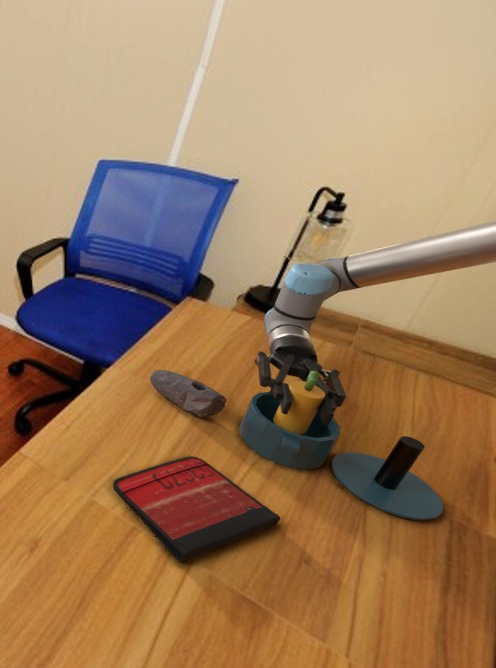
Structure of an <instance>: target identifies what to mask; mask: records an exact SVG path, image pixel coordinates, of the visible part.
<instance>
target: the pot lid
mask: <svg viewBox="0 0 496 668" xmlns="http://www.w3.org/2000/svg"><path fill="white" fill-rule="evenodd" d="M425 447H426V446H425V444H424V443H423V442H421V441H420V440H419V439H417V438H414V437H412V436H407V435H403V436H400V437H399V439H398V440H397V442H396V443H395V445H394V446H393V448H391V449H392V450H391V451H390V453H389V454H388V456H386V459H384V458H381V457H377V456H375V455H370V454H367V453H361V452H352V451H351V452H341V453H339V454H337V455H335V456H334V457H333V459H332V460H331V464H330V465H331V471H332V473H333V475H334V476H335V478H336V479H337V480H338V481H339V482H340V483H341V485H342V486H343V487H345V489H347V490H348V491H349V492H351V493H352V494H353V495H355V496H356V497H357V498H358V499H360V500H362V501H363V502H366V503H367V504H369V505H371V506H373V507H375V508H377V509H379V510H381V511H383V512H386V513H388V514H391V515H393V516H397V517H400V518H404V519H409V520H415V521H431V520H435V519H437V518H439V517H440V516H441V515H442V513H443V510H444V505H443V501H442V499H441V498H440V495H438V493H437V492H436V491H435V490H434V489H433V487H431V486H430V485H429V484H428V483H427V482H425V481H424V480H423V479H421V478H420V477H419V476H418V475H416V474H415V473H412V472H411V471H410V469H411V468H412V467H413V466H414V464H415V463H416V461H417V459H418V458H419V456H420V455H421V454H422V453H423V451H424V449H425Z"/></svg>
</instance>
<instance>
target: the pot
mask: <svg viewBox="0 0 496 668" xmlns="http://www.w3.org/2000/svg"><path fill="white" fill-rule="evenodd" d="M279 406H280V400H279V399H275V398H274V397H273V394H271V393H270V391H263V392H262V391H261V392H258V393H257V394H255V395H253V396H252V397H251V399H250V401H249V404H248V406H247V408H246V410H245V412H244V414H243V417H242V419H241V422H240V426H239V429H238V430H239V431H238V432H239V434H240V437H241V438H242V440H243V441H244V443H245V444H246V445H247V446H248V447H249V448H250V449H252V450H253V451H254V452H255V453H257V454H259V455H260V456H262V457H263V458H265V459H267V460H269V461H271V462H273V463H276V464H278V465H281V466H283V467H287V468H290V469H291V468H292V469H294V470H305V471H307V470H310V471H311V470H316V469H318V468H320V467H321V466H323V464H324V463H325V462H327V459H328V458H329V455H330V454H331V452H332V450H333V449H334V448H335V445H336V444H337V442H338V440H339V438H340V436H341V435H342V434H341V433H342V432H341V431H342V430H341V424H339V423H338V421H337V420H336V418H334V417H333V418H332V420H331V422H330V423H329V425H328V426H325V425H323V424H322V421H321V417H320V414H319V410H317V412H316V414H315V416H314V418H313V420H312V422H311V424H310V426H309V428H308V429H307V431H306V433H305V434H302V435H299V434H296V433H293V432H290V431H288V430H285V429H283V428H281V427H280V426H278V425H276V424H275V423H274V422H273V418H274V416H275V414H276V412H277V410H278V408H279Z"/></svg>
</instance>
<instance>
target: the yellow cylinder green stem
mask: <svg viewBox="0 0 496 668" xmlns="http://www.w3.org/2000/svg"><path fill="white" fill-rule="evenodd" d="M319 376H321V375H320V374H319V372H318V371H311V372H310V373H309V376H308V378H307V381H306V382H304V381H302V380H292V381H291V382H290V383H289V384H288V385H289V390H290V394H291V399H292V405H291V407H290V409H289V411H288V413H287V415H286V414H283V413H282V411H281V406H279V408H278V410H277V412H276V414H275V416H274V418H273V422H274V423H275V424H276V425H278V426H280V427H281V428H283V429H285V430H288V431H290V432H293V433H296V434H299V435H302V434H305V433H306V431H307V429H308V428H309V426H310V424H311V422H312V420H313V418H314V416H315V414H316V412H317V410H318V409H319V407H320V405H321V403H322V401H323V399H324V397H325V393H324V391H323V390H322V389H320V388H319V387H317V386H315V385H316V383H317V382H318V380H317V379H318V377H319Z"/></svg>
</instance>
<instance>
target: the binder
mask: <svg viewBox="0 0 496 668" xmlns="http://www.w3.org/2000/svg"><path fill="white" fill-rule="evenodd" d="M112 488H113V490H114V491H115V493H116V494H117V495H118V496H119V498H121V499H122V500H123V501H124V503H125V504H126V505H127V506H128V507H129V508H130V509H131V510H132V512H133V513H135V514H136V515H137V517H138V518H139V519H140V520H141V521H142V523H143V524H145V525H146V527H148V529H149V530H150V531H151V532H152V533H153V535H154V536H155V537H156V538H157V539H158V540H159V541H160V543H162V545H163V546H164V547H165V548H166V549H167V550H168V552H169V553H171V555H172V556H173V557H174V558H175V559H176V560H177V561H178V562H179V563H184V562H185V561H188V560H191V559H194V558H196V557H199V556H201V555H204V554H207V553H210V552H211V551H214V550H216V549H219V548H222V547H225V546H227V545H229V544H231V543H234V542H237V541H239V540H242V539H244V538H246V537H249V536H252V535H254V534H257V533H259V532H261V531H264V530H266V529H269V528H271V527H275V526H277V525H278V523H279V522H280V521H281V516H280V515H279V514H277V513H275V512H274V511H273V510H271V509H270V508H268V507H267V506H266V505H264V504H263V503H262V502H260V501H259V500H257V499H256V498H255V497H253V496H252V495H251V494H249V493H248V492H247V491H245V490H244V489H242V488H241V487H240V486H239V485H237V484H236V483H235V482H233V481H232V480H231V479H229V478H228V477H227V476H225V475H224V474H223V473H221V472H220V471H218V470H217V469H216V468H214V467H213V466H212V465H210V464H209V463H208V462H207V461H205V460H203V459H202V458H199V457H197V456H186V457H182V458H178V459H173V460H171V461H167V462H164V463H160V464H158V465H154V466H151V467H148V468H145V469H141V470H138V471H134V472H132V473H129V474H126V475H123V476H121V477H118V478H116V479H115V480H114V481H113V483H112Z"/></svg>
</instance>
